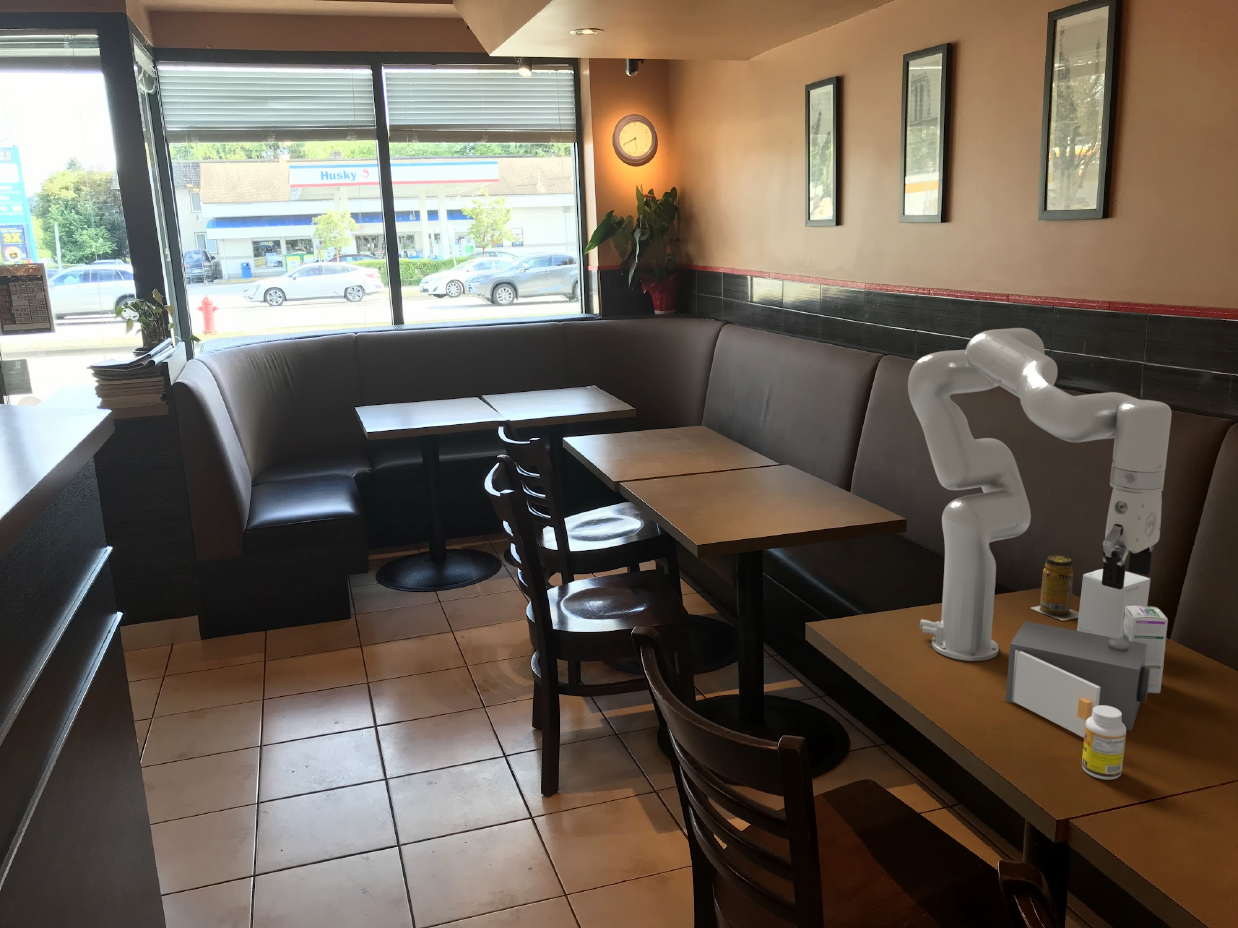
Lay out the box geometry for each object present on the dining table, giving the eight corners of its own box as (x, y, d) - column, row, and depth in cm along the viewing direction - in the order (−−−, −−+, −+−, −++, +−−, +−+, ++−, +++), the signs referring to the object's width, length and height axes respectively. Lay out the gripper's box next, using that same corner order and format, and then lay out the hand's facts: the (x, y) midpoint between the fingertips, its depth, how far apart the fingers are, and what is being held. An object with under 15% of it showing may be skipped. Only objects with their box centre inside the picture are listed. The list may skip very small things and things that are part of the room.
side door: (1006, 700, 170) (1010, 651, 168) (1013, 698, 171) (1018, 649, 169) (1087, 743, 156) (1092, 689, 154) (1095, 740, 157) (1100, 686, 155)
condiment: (1053, 603, 217) (1057, 552, 214) (1085, 615, 209) (1090, 563, 207) (1029, 608, 214) (1034, 557, 211) (1061, 622, 206) (1066, 568, 204)
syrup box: (1161, 693, 174) (1170, 618, 170) (1125, 691, 175) (1134, 616, 172) (1151, 679, 179) (1159, 606, 176) (1116, 677, 180) (1124, 604, 177)
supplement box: (1116, 659, 188) (1124, 586, 184) (1074, 643, 195) (1081, 573, 192) (1144, 649, 192) (1152, 577, 189) (1102, 634, 200) (1109, 565, 196)
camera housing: (1005, 701, 172) (1010, 638, 169) (1020, 675, 182) (1025, 615, 179) (1139, 732, 160) (1147, 665, 158) (1147, 703, 170) (1155, 640, 167)
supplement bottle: (1086, 758, 153) (1093, 698, 151) (1125, 769, 150) (1132, 709, 147) (1076, 773, 149) (1082, 712, 147) (1115, 785, 145) (1122, 723, 143)
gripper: (1138, 492, 146) (1126, 599, 150) (1184, 473, 157) (1172, 573, 161) (1088, 483, 152) (1077, 586, 156) (1135, 465, 162) (1125, 562, 166)
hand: (1125, 579), depth 158 cm, fingers open, 9 cm apart
